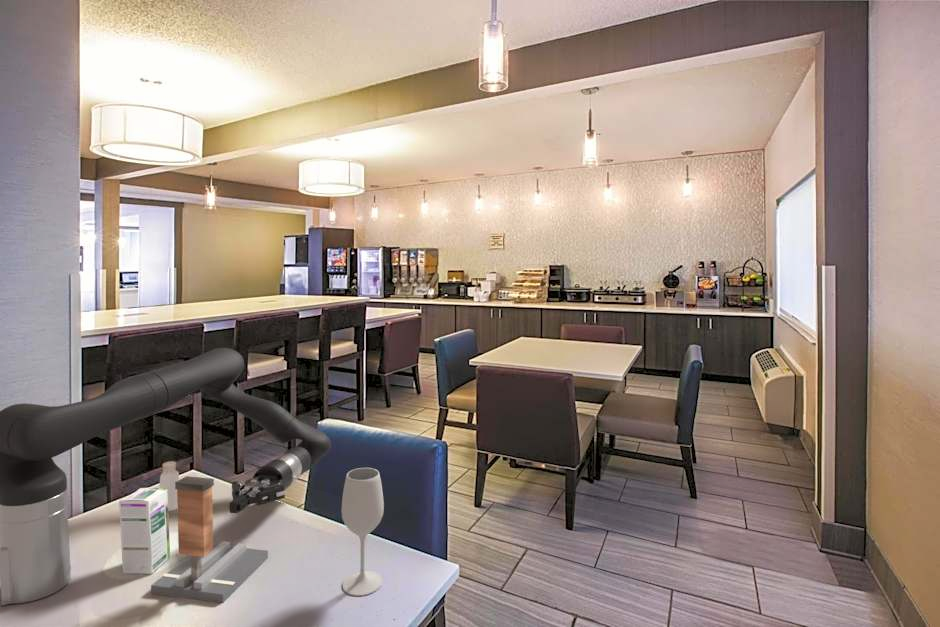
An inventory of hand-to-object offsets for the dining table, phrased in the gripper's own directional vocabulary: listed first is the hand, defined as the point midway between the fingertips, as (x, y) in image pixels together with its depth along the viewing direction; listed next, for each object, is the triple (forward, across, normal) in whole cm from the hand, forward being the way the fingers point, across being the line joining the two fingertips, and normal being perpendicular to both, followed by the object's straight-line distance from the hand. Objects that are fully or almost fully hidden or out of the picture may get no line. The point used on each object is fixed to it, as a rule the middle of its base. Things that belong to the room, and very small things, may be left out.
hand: (233, 508), depth 99 cm
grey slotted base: (+6, 0, +10) cm, 12 cm away
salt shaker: (-16, -28, +10) cm, 34 cm away
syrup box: (+6, -15, +10) cm, 19 cm away
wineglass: (+4, +28, +10) cm, 31 cm away
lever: (+11, 0, +8) cm, 13 cm away
